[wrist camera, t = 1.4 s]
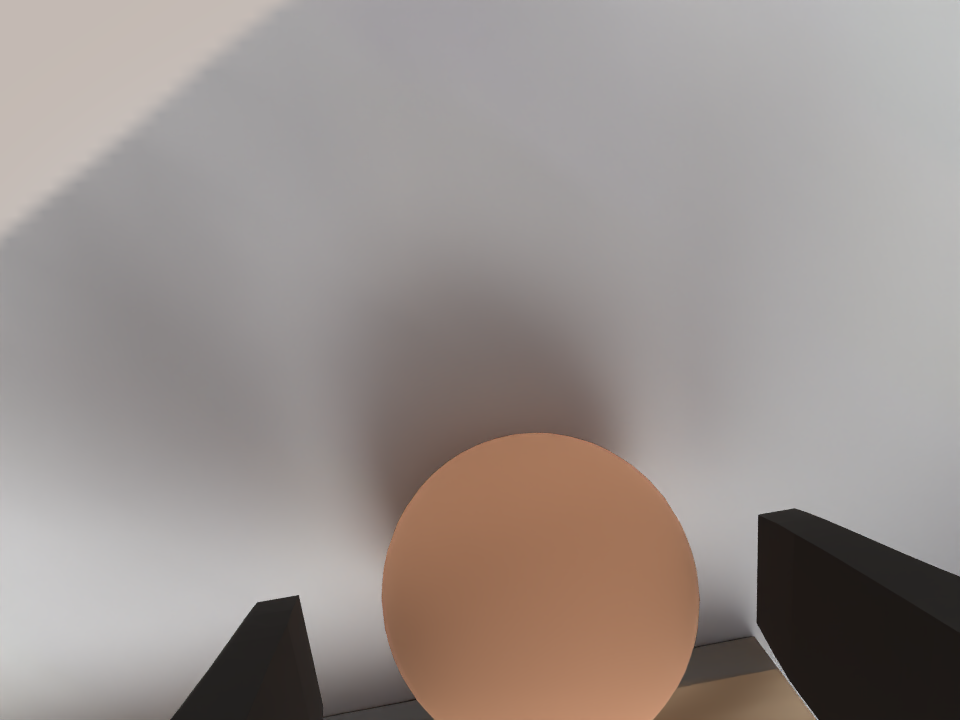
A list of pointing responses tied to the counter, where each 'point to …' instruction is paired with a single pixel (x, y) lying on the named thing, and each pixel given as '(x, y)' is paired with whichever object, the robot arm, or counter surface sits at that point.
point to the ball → (540, 586)
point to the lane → (736, 694)
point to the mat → (402, 714)
